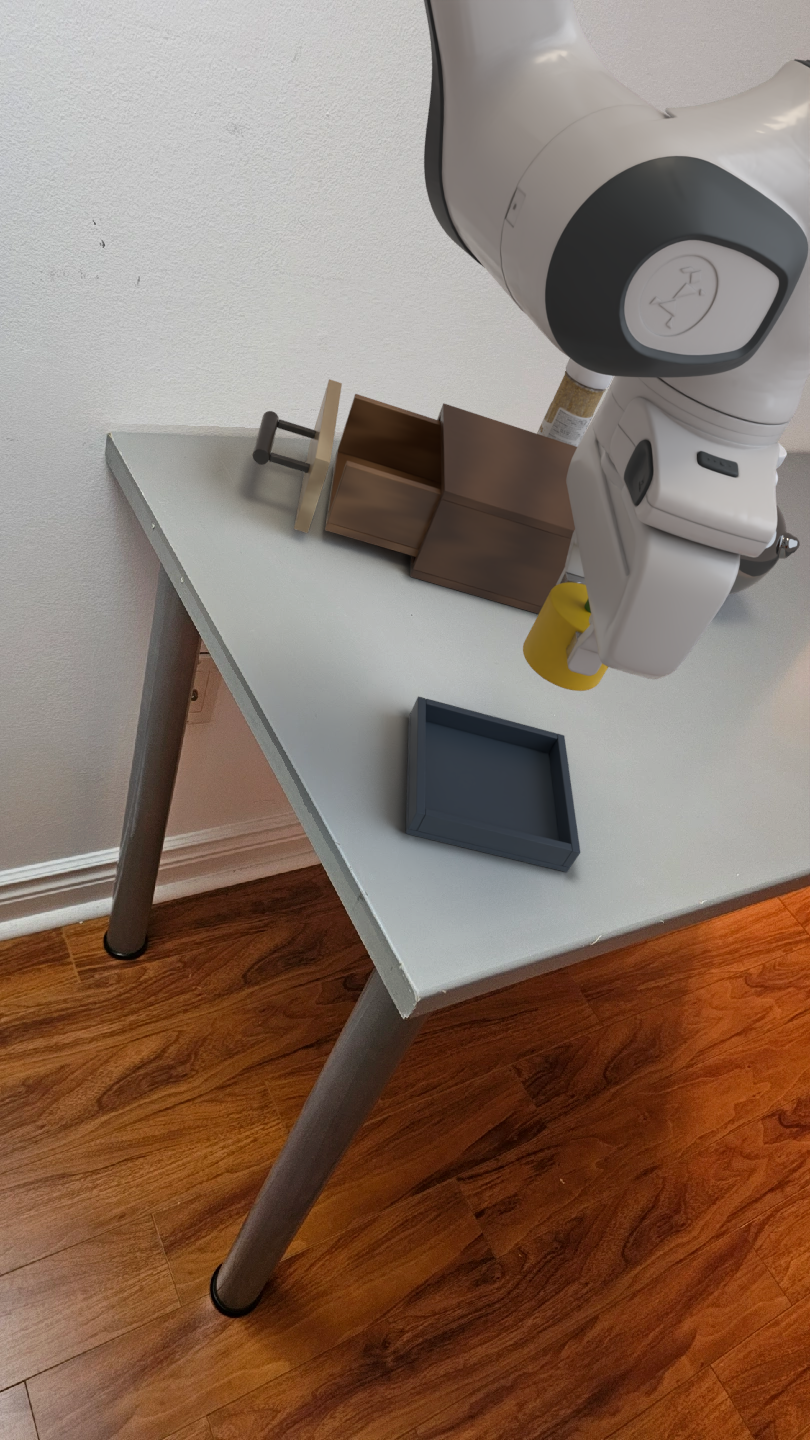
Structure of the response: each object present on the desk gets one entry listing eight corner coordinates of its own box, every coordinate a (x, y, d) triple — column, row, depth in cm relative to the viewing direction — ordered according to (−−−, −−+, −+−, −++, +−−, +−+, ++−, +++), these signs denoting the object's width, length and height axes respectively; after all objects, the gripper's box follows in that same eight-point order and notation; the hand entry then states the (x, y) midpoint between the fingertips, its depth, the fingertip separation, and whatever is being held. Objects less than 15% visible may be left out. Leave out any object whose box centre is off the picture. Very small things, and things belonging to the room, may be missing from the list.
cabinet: (409, 576, 89) (444, 490, 83) (412, 484, 100) (443, 402, 95) (580, 626, 92) (624, 546, 86) (563, 530, 103) (602, 454, 98)
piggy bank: (636, 524, 109) (690, 426, 102) (762, 602, 106) (828, 506, 99) (594, 559, 101) (650, 455, 94) (730, 644, 98) (799, 543, 90)
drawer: (237, 512, 85) (256, 439, 81) (259, 430, 96) (276, 361, 92) (460, 578, 89) (489, 511, 85) (457, 492, 100) (483, 428, 96)
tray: (405, 833, 67) (416, 812, 66) (408, 716, 75) (417, 695, 74) (567, 872, 69) (580, 852, 68) (552, 754, 78) (564, 734, 76)
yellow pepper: (525, 678, 62) (561, 610, 59) (519, 625, 66) (553, 559, 63) (605, 700, 63) (645, 634, 60) (595, 647, 67) (632, 583, 64)
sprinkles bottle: (524, 461, 112) (578, 342, 103) (563, 479, 111) (620, 362, 103) (514, 477, 108) (569, 356, 100) (555, 496, 108) (613, 376, 99)
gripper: (603, 330, 62) (513, 525, 70) (660, 512, 46) (536, 732, 55) (700, 364, 63) (600, 551, 72) (786, 552, 48) (645, 761, 56)
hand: (572, 632), depth 63 cm, fingers closed on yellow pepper, 5 cm apart
